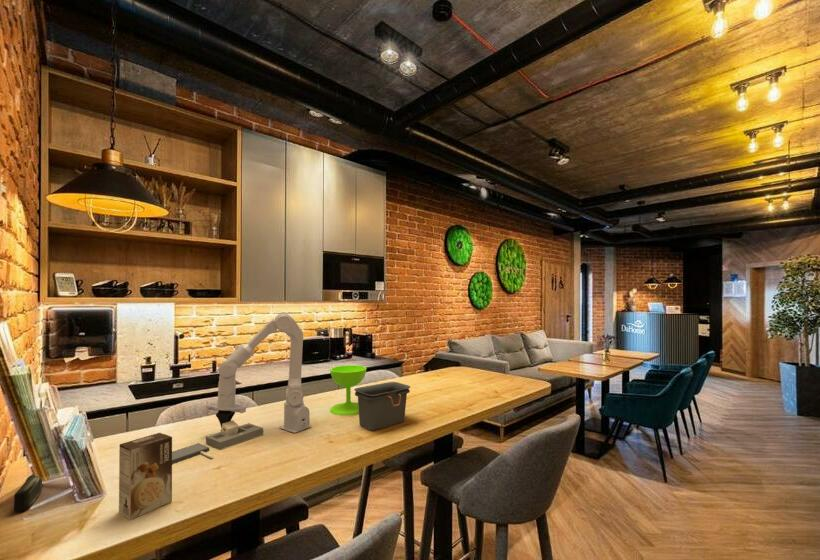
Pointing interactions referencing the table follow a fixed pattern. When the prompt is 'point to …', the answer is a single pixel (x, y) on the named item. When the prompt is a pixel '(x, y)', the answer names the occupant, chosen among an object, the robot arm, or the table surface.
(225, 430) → the beige cube
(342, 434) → the table surface
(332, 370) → the wineglass
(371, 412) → the storage bin
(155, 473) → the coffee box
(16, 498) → the black rounded bar
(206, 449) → the grey flat pronged bracket
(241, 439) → the grey compartment tray
